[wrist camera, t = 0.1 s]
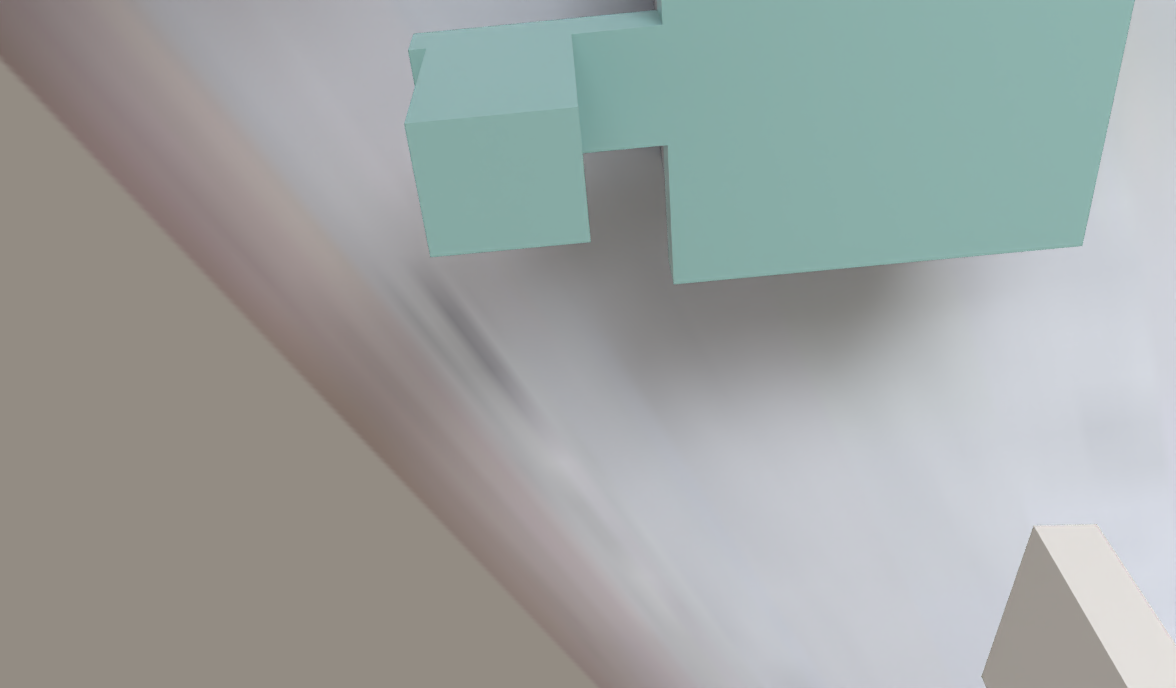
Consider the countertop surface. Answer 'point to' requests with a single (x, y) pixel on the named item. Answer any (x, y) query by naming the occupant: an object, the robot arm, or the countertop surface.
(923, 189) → the teal t-shaped block
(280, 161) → the countertop surface
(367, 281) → the countertop surface
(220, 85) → the countertop surface
